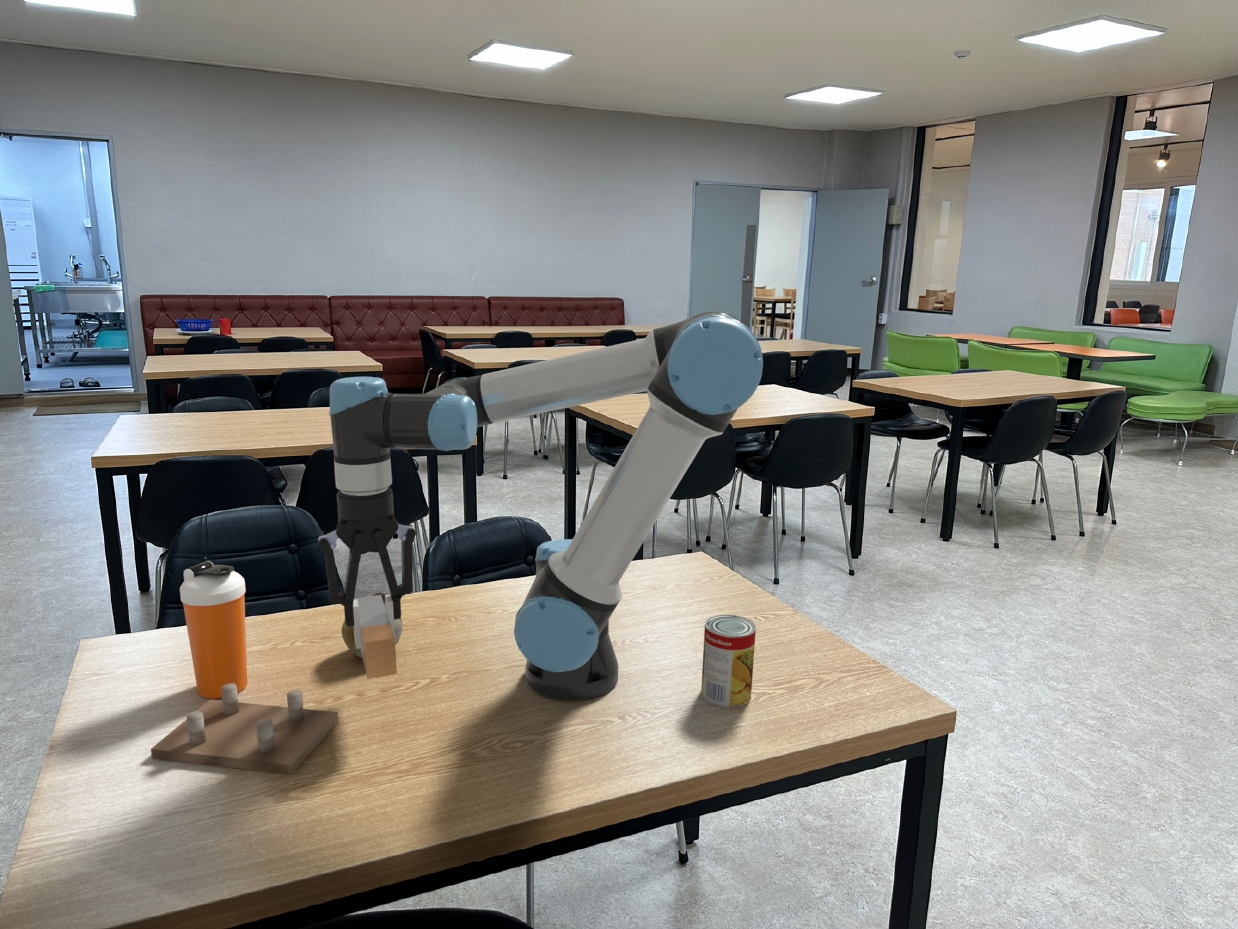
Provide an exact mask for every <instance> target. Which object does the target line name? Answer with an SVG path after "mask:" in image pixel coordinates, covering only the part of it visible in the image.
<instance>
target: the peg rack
mask: <svg viewBox="0 0 1238 929" xmlns="http://www.w3.org/2000/svg"><path fill="white" fill-rule="evenodd" d="M221 691H222V698H221V700H217V699H208V701H207V702H206V703H204V704H203V705H202V706H201V707H200V708H198V709H197V710H196V711H192V712H190V713H188V714H187V715H186V719H185V720H183V722H181V723H179V725H178V726H177V727H176V728H174V729H173V730H172V731H170V732H169V733H168V734H167V735H166V736H165V737H164V738H163V737H162V739H161V740H160V741H158V742H157V743H156V744H155V745H154V746H153V747H151V748H150V752H151V753H150V755H151V759H152V760H158V761H167V762H168V761H169V762H177V763H187V764H193V765H194V764H195V765H196V764H197V765H202V766H203V765H204V766H205V765H206V766H212V767H213V766H214V767H223V768H232V769H240V770H249V771H258V772H268V773H276V774H286V775H293V774H294V773H296V771H297V769H299V767H300V766H301V765H302V764H303V763H305V760H306V759H307V758H309V756H310V755H311V753H313V751H315V749H316V748H317V747H318V746H319V745H320V743H321V742H322V741H323V740H324V739H325V737H326V736H327V735H328V734H329V733H330V732H331V730H333V729H334V727H335V726H336V725H337V724H338V723H339V713H338V711H330V710H321V709H320V710H318V709H310V708H304V703H303V691H302V690H301V689H291V690H289V691H288V692H287V693H286V701H287V702H286V703H287V706H280V705H279V706H278V705H269V704H257V703H250V702H249V703H248V702H239V699H238V696H239V695H238V693H237V685H236V684H234V683H230V684H226V685H223V686H222V687H221Z"/></svg>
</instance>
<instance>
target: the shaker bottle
mask: <svg viewBox="0 0 1238 929" xmlns="http://www.w3.org/2000/svg"><path fill="white" fill-rule="evenodd" d="M183 580H184V581H183V582H182V584H181V585H180V587H179V593H180V594H179V595H180V602H181V603H182V604H183V605H182V606H183V610H184V618H185V622H186V623H185V624H186V628H187V636H188V640H189V647H190V653H191V654H190V655H191V660H192V664H193V672H194V677H195V684H196V690H197V693H198V695H199V696H200V697H202V698H205V699H209V700H217V699H222V691H221V687H222V686H223V685H226V684H230V683H234V684H236V685H237V694H239V693H241V692H242V691H243V690H244V689H246V687H247V685H248V663H247V660H248V658H247V638H246V637H247V635H246V634H247V633H246V632H247V631H246V608H245V607H246V606H245V594H246V592H247V590H246V582H245V580H246V579H245V578H244V577H243V576H242V575H241V574H240V573H239V572H236V571H235V567H234V566H233V565H226V564H225V565H224V564H214V563H213V562H211V561H210V560H205V561H203V562H200V563H199V564H195V565H194V566H191V567H188V568H186V569H184V570H183Z"/></svg>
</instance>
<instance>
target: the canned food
mask: <svg viewBox="0 0 1238 929" xmlns="http://www.w3.org/2000/svg"><path fill="white" fill-rule="evenodd" d="M756 630H757V627H756V624H755V623H754V622H753V621H752V620H751V619H749V618H746V617H743V616H740V615H735V614H716V615H713V616H710V617H709V618H707V619H706V620H705V622H704V632H703V651H702V653H703V654H702V668H701V669H702V672H701V690H700V695H701V697H702V698H703V699H704V701H706V702H707V703H709V704H711V705H714V706H717V707H721V708H727V709H730V708H731V709H733V708H740V707H742V706H743V707H744V706H746V705H747V704H748V703H750V701H751V699H752V690H753V689H752V687H753V676H754V660H755V647H756V646H755V644H756Z"/></svg>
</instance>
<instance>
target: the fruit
mask: <svg viewBox="0 0 1238 929" xmlns="http://www.w3.org/2000/svg"><path fill="white" fill-rule="evenodd" d="M376 595H381V597H382V600H383V603H384V606H385V609H386V601H385V595H387V594H386V593H384V592H374V593H371V594H369V595H368V596H367V597H369V596H376ZM403 623H404V622H403V619H402V617H401V618H400V619H395V620H394V629H395V647H396V645H397V644H398V643H399V641H400V639H401V636H402V633H403V625H404V624H403ZM341 637H342V639H343V641H344V643H345V645H346V647H347V648H348V650H350V652H351V653H352V654H354V655H355V656H356V657H358V658H361V659H363V658H362V654H361V649H356V645H355V638H354V626H349V627H347V625H346V622H345V619H344V620H343V623H342V626H341Z"/></svg>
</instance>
